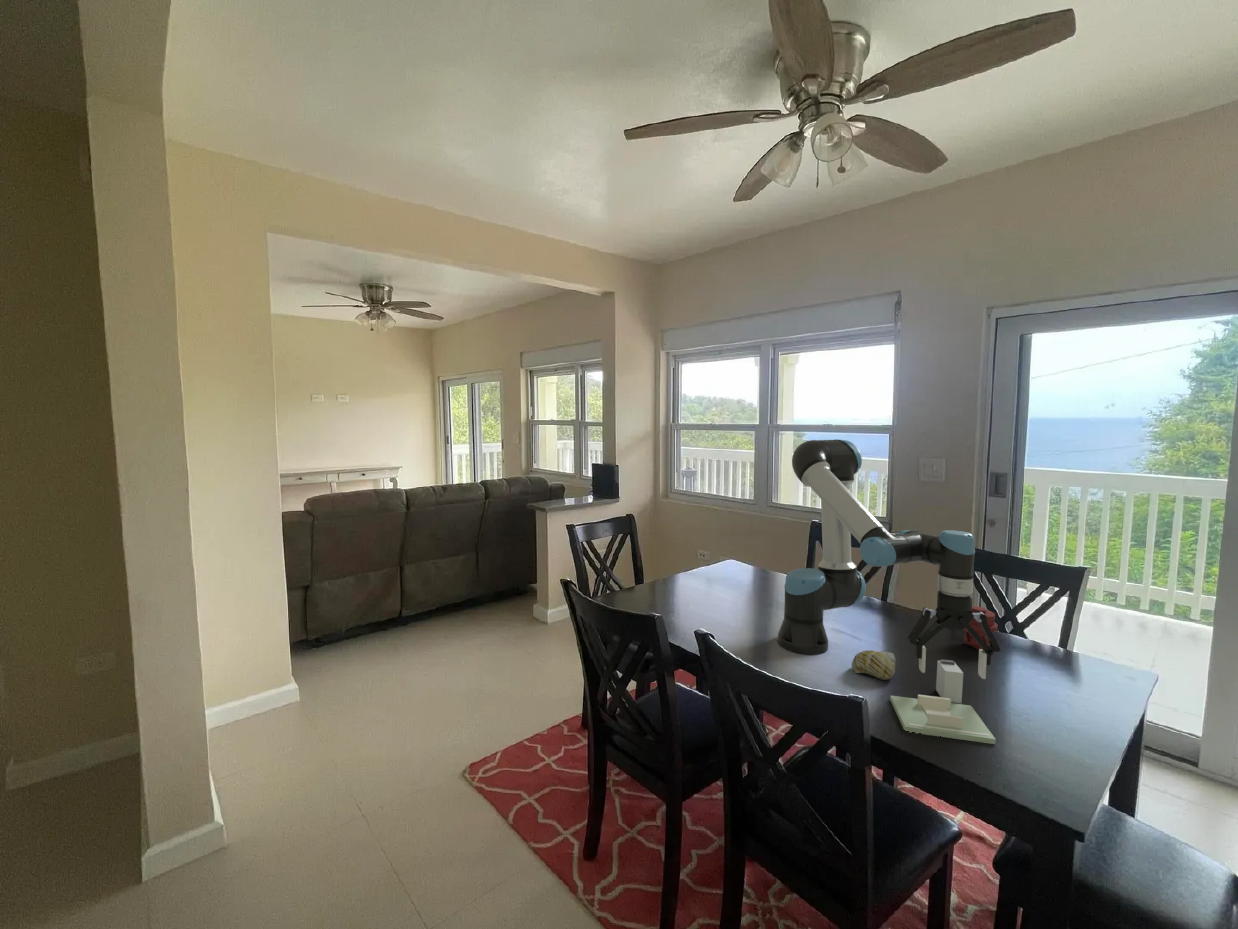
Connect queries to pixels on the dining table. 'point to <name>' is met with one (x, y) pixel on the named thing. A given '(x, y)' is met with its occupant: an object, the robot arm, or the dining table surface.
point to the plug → (949, 680)
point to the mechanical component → (977, 628)
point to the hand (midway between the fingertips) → (951, 673)
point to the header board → (941, 718)
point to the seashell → (875, 664)
